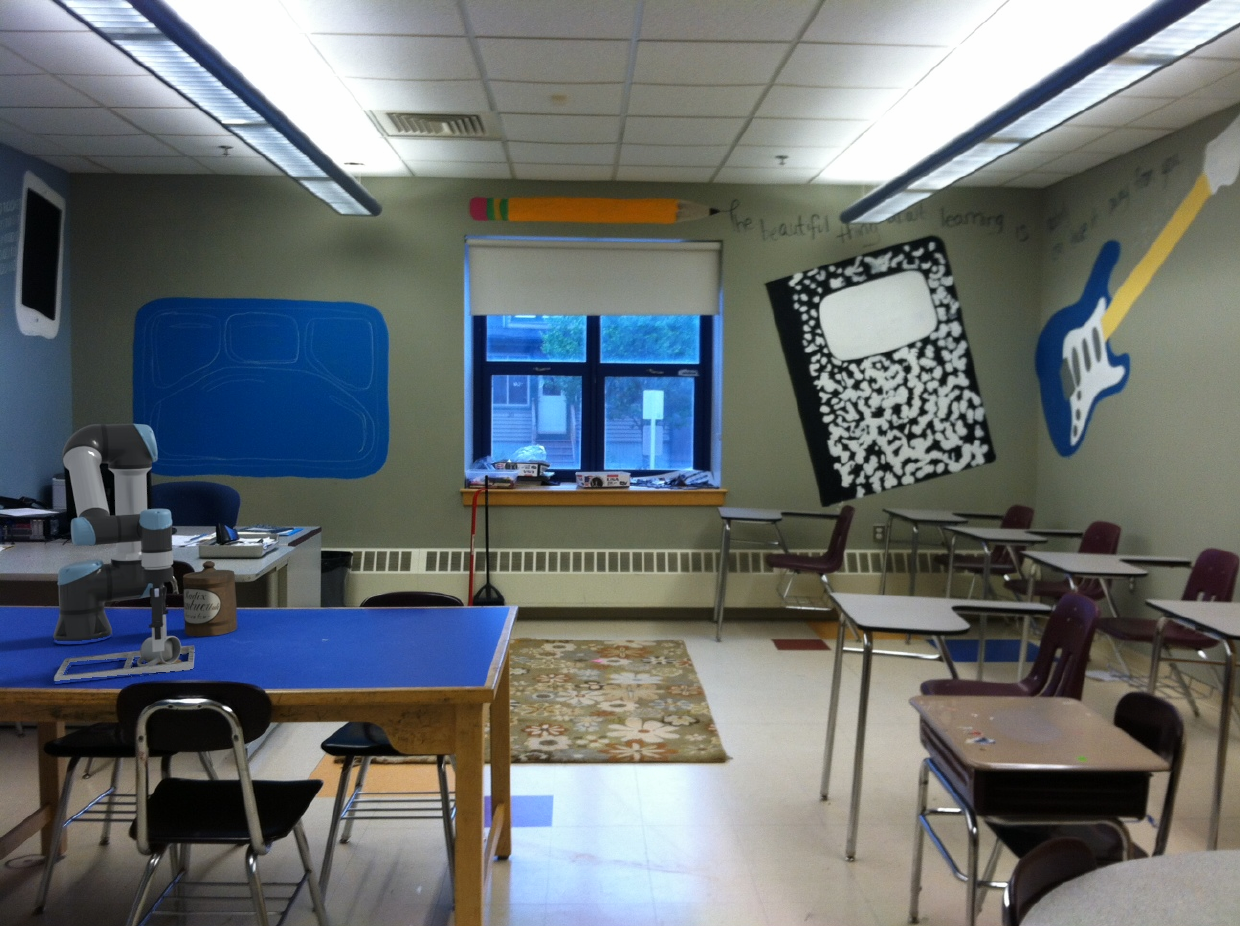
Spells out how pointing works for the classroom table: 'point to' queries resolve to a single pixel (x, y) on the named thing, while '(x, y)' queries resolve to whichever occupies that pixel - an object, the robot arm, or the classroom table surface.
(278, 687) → the classroom table surface
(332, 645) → the classroom table surface
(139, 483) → the robot arm
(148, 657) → the ceramic mug
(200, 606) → the wooden container
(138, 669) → the slot rack
